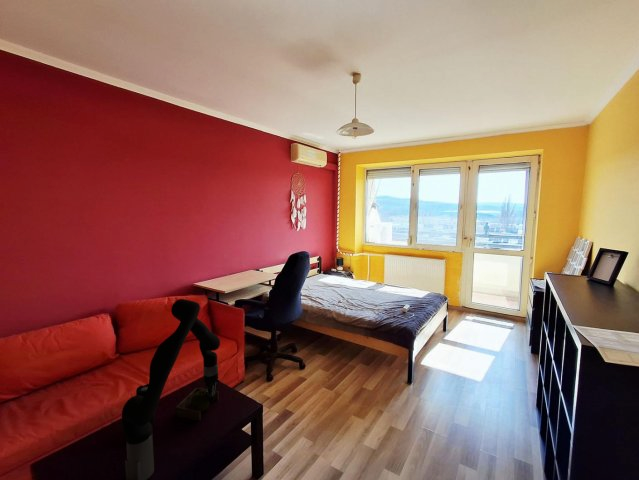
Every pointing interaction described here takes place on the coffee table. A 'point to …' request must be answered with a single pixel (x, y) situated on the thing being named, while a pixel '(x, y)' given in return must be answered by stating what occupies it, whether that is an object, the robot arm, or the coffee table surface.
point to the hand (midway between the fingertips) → (211, 401)
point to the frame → (191, 413)
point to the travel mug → (141, 392)
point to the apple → (199, 401)
